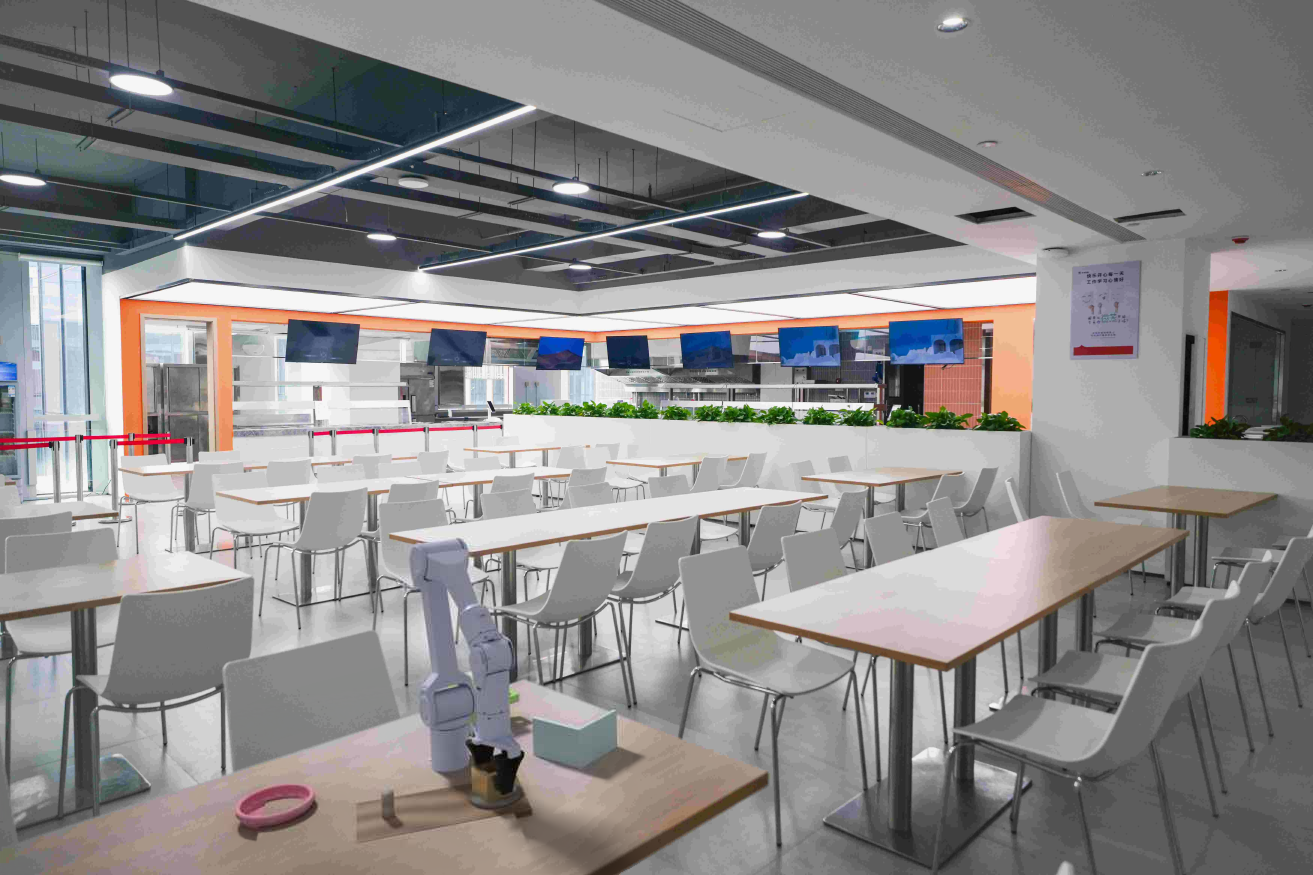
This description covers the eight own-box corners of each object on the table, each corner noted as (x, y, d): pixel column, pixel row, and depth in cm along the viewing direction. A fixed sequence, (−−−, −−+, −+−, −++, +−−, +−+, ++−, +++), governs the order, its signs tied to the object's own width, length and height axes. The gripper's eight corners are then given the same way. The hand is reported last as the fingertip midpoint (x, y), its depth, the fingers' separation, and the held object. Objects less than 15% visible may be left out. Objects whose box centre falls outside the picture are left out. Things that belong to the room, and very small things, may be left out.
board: (356, 808, 141) (355, 779, 141) (516, 780, 151) (516, 752, 151) (356, 848, 128) (355, 816, 128) (532, 814, 138) (531, 784, 137)
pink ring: (235, 842, 131) (234, 823, 131) (235, 810, 142) (234, 792, 142) (318, 823, 137) (317, 805, 137) (312, 793, 148) (311, 776, 148)
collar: (472, 792, 143) (471, 766, 142) (500, 782, 146) (499, 757, 146) (487, 803, 138) (486, 777, 138) (516, 792, 142) (515, 767, 142)
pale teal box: (617, 746, 165) (616, 710, 165) (580, 768, 155) (579, 730, 155) (572, 734, 172) (571, 699, 172) (533, 754, 162) (532, 717, 162)
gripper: (453, 703, 145) (455, 778, 145) (493, 726, 134) (495, 807, 134) (488, 694, 149) (490, 766, 150) (530, 715, 138) (532, 793, 139)
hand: (495, 785), depth 142 cm, fingers open, 7 cm apart
